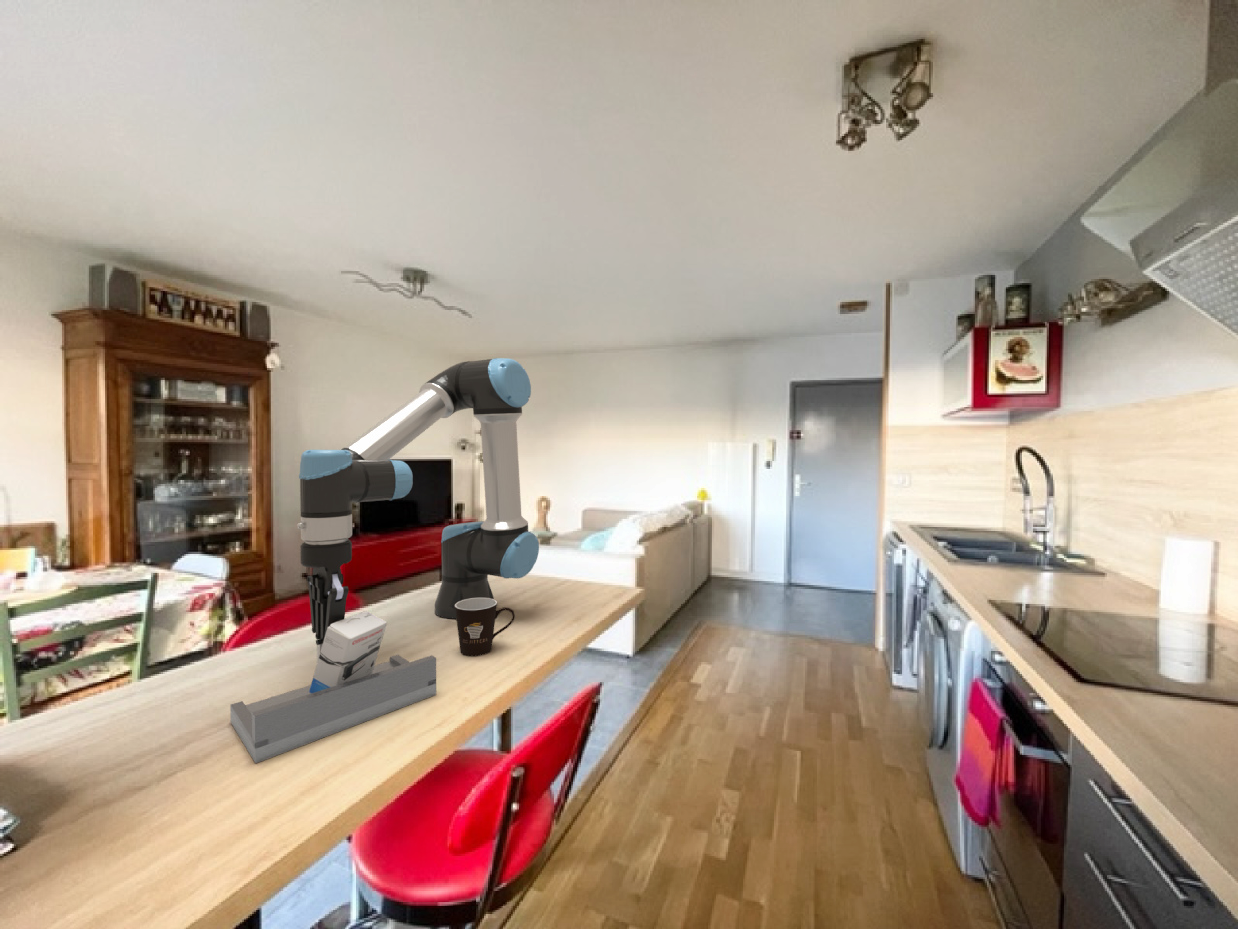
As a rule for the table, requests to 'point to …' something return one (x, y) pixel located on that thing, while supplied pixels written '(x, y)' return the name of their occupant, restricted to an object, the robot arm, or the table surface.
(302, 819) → the table surface
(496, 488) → the robot arm
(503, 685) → the table surface
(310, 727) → the gray tray
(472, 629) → the coffee mug
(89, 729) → the table surface
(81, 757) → the table surface
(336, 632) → the ink box
